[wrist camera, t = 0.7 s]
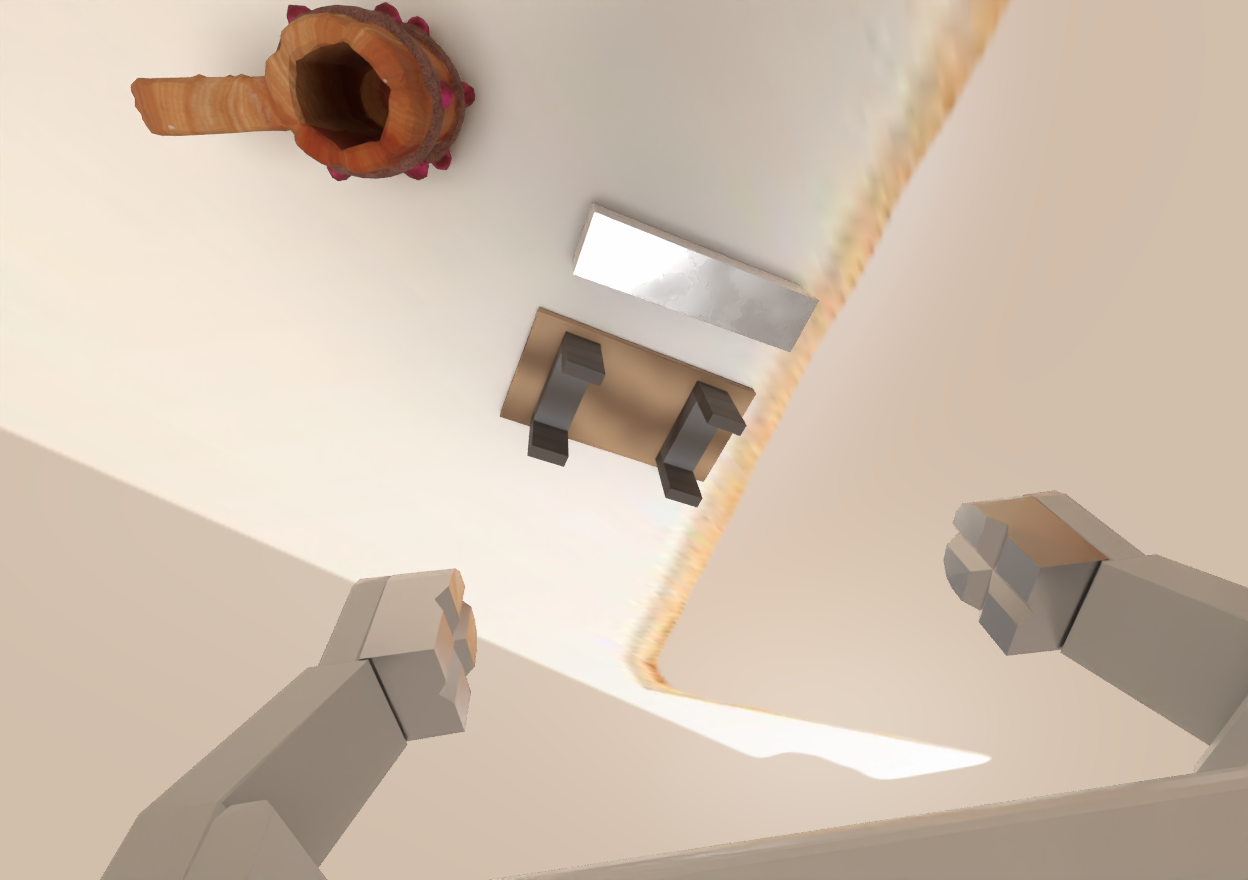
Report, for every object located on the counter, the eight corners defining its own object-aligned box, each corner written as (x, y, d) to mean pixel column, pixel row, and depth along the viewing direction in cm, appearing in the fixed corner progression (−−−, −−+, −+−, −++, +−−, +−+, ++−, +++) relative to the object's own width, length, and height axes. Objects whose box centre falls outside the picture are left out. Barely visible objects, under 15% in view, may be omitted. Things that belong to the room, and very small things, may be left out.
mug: (470, 19, 36) (422, -22, 23) (489, 163, 40) (457, 195, 28) (227, 24, 35) (36, -16, 22) (272, 171, 39) (133, 208, 26)
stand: (539, 307, 46) (536, 338, 40) (752, 388, 52) (778, 427, 46) (501, 411, 50) (493, 453, 44) (701, 475, 56) (718, 521, 50)
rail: (572, 259, 45) (573, 274, 41) (591, 202, 43) (594, 212, 39) (772, 332, 49) (790, 352, 46) (798, 284, 47) (818, 300, 44)
